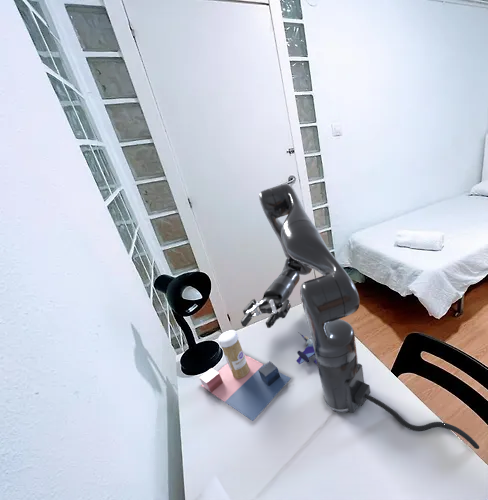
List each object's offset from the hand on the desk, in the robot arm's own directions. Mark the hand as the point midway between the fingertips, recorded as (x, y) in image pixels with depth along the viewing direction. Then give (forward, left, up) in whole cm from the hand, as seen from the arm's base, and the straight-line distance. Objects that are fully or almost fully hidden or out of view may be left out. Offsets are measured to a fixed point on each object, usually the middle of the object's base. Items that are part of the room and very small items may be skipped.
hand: (255, 325), depth 81 cm
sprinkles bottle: (-2, +9, -9) cm, 13 cm away
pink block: (+2, +16, -9) cm, 18 cm away
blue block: (-11, +7, -9) cm, 16 cm away
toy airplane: (-16, -6, -10) cm, 20 cm away
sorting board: (-5, +11, -9) cm, 15 cm away
